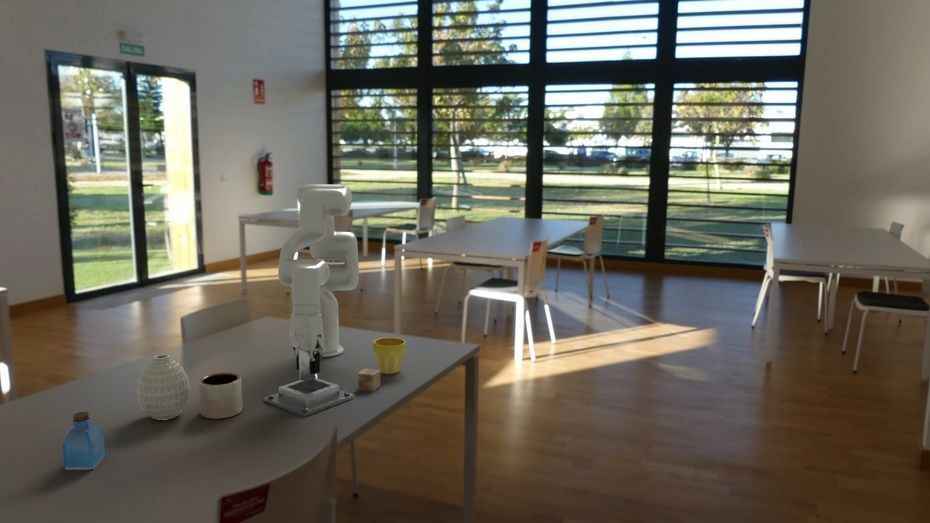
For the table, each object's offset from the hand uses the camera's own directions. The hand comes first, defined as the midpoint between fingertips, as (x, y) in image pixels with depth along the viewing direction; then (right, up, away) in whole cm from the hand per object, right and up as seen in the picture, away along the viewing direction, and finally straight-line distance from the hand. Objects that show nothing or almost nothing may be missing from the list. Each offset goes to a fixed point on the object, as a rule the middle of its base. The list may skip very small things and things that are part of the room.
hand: (308, 370), depth 197 cm
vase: (-35, -11, -11) cm, 39 cm away
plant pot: (+20, -5, +27) cm, 34 cm away
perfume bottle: (-42, -15, -39) cm, 59 cm away
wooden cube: (+16, -7, +12) cm, 21 cm away
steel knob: (0, -2, 0) cm, 2 cm away
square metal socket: (0, -9, +2) cm, 9 cm away
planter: (-22, -10, -8) cm, 25 cm away
